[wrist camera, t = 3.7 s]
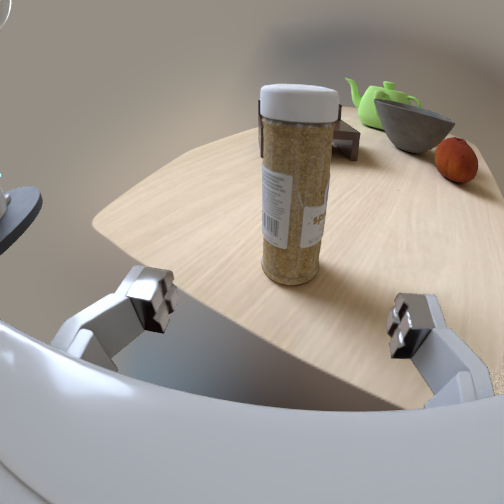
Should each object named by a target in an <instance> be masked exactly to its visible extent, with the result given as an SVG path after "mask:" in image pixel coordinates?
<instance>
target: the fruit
mask: <svg viewBox="0 0 504 504" xmlns="http://www.w3.org/2000/svg"><path fill="white" fill-rule="evenodd" d="M435 164H436V167H437V169H438V171H439V172H440V173H441V174H442V175H443V176H445V177H446V178H448V179H450V180H452V181H455V182H459V183H465V182H468V181H471V180H472V179H474V177H475V176H476V173H477V170H478V159H477V157H476V155H475V153H474V151H473V150H472V148H471V147H470V146H469V145H468V144H467V143H466V141H465V140H464V139H460V138H456V137H454V138H448V139H445V140H443V141H442V142H441V143H439V145H438V146H437V149H436V153H435Z"/></svg>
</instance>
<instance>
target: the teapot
mask: <svg viewBox="0 0 504 504" xmlns="http://www.w3.org/2000/svg"><path fill="white" fill-rule="evenodd" d="M345 79H346V80H347V81H348V82H349V83H350V85H351V90H352V100H353V103H354V105H355V106H356V108H357V109H358V116H359V119H360V121H361V122H362V123H363V124H365V125H367V126H370V127H375V128H379V129H383V130H384V128H383V126H382V124H381V121H380V118H379V115H378V112H377V109H376V106H375V103H374V99H384V100H391V101H395V102H400V103H404V104H407V105H411V104H410V100H414V101H415V102H417V104H418V108H421V103H420V101H419V100H418V99H417V98H415V97H413V96H408V95H407V94H406V93H403V92H399V91H395V90H393V88H394V86H395V84H394V83H390V82H383V84H384V87H385V88H382V87H376V86H369V88H368V89H367V91H366V92H365V94H364V96H363V97H362V98H361V97H360V95H359V93H358V88H357V84H356V82H355V81H354V80H351V79H348V78H345ZM409 99H410V100H409Z"/></svg>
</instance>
